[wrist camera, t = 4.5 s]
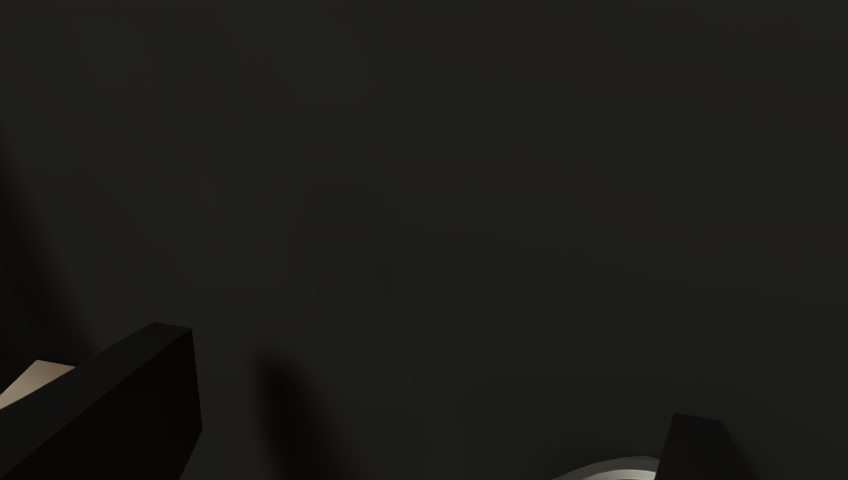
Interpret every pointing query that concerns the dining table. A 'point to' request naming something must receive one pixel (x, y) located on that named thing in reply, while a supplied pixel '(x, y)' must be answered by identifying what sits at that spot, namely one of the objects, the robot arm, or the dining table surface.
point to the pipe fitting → (616, 470)
